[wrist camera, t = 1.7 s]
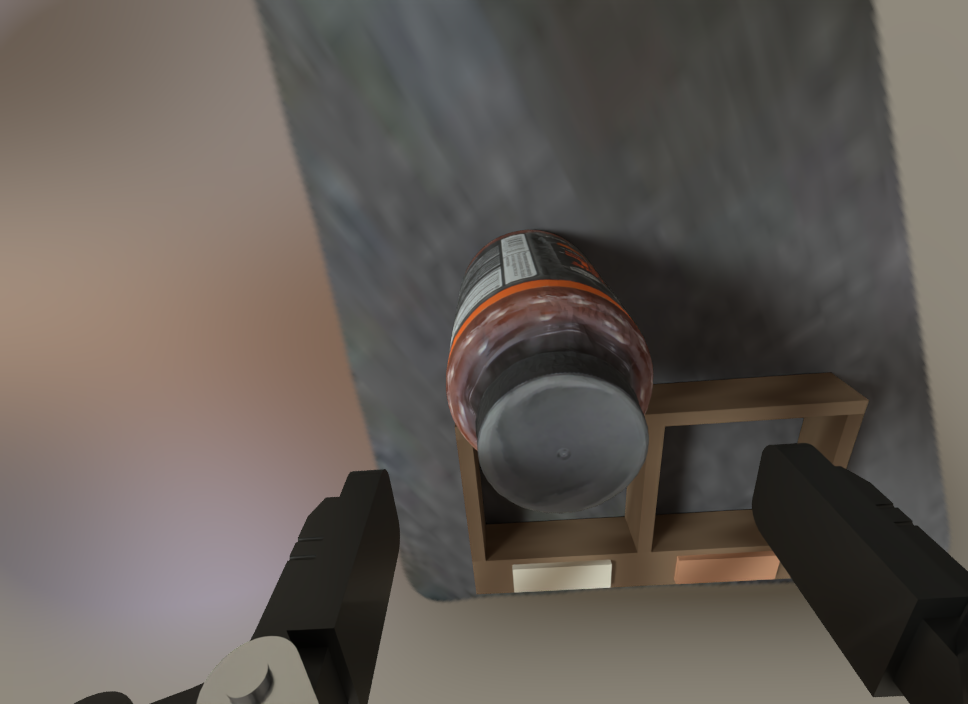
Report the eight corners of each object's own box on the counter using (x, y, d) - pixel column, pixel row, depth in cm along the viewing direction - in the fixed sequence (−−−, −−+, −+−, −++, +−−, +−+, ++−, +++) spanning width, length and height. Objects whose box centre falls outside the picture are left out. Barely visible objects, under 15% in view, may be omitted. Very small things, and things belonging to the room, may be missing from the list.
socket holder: (830, 372, 23) (874, 403, 20) (783, 540, 28) (813, 581, 25) (457, 397, 23) (454, 430, 21) (477, 556, 28) (476, 599, 26)
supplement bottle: (620, 297, 21) (747, 463, 11) (518, 375, 23) (546, 581, 13) (535, 194, 19) (592, 278, 9) (431, 288, 21) (380, 448, 11)
